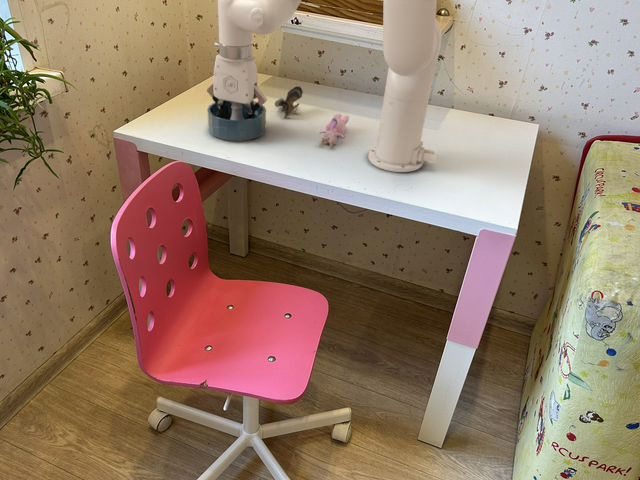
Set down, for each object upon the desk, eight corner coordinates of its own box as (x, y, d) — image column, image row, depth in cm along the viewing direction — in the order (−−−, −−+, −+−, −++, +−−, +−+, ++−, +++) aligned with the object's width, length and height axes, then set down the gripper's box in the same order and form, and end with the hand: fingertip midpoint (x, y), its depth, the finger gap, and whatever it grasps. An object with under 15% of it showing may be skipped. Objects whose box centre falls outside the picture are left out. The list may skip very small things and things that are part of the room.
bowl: (274, 126, 143) (275, 105, 139) (250, 147, 132) (250, 125, 129) (225, 115, 147) (224, 95, 144) (198, 135, 137) (196, 114, 133)
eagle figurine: (307, 115, 146) (308, 97, 152) (293, 94, 142) (295, 76, 148) (282, 127, 149) (285, 109, 155) (267, 107, 145) (271, 89, 151)
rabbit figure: (338, 155, 133) (355, 123, 143) (339, 133, 129) (356, 102, 139) (313, 150, 135) (331, 119, 145) (313, 128, 131) (332, 98, 140)
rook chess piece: (249, 128, 139) (249, 97, 135) (236, 133, 137) (236, 101, 132) (237, 123, 142) (237, 92, 137) (224, 128, 139) (223, 96, 134)
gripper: (194, 49, 128) (199, 124, 139) (263, 60, 123) (262, 137, 133) (210, 41, 133) (213, 113, 144) (277, 52, 128) (274, 126, 139)
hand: (237, 124), depth 139 cm, fingers open, 6 cm apart
